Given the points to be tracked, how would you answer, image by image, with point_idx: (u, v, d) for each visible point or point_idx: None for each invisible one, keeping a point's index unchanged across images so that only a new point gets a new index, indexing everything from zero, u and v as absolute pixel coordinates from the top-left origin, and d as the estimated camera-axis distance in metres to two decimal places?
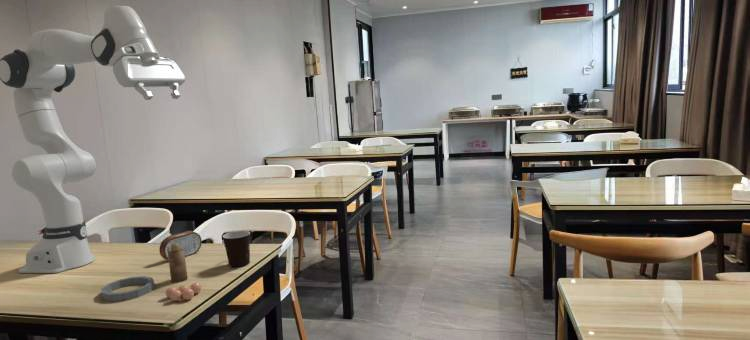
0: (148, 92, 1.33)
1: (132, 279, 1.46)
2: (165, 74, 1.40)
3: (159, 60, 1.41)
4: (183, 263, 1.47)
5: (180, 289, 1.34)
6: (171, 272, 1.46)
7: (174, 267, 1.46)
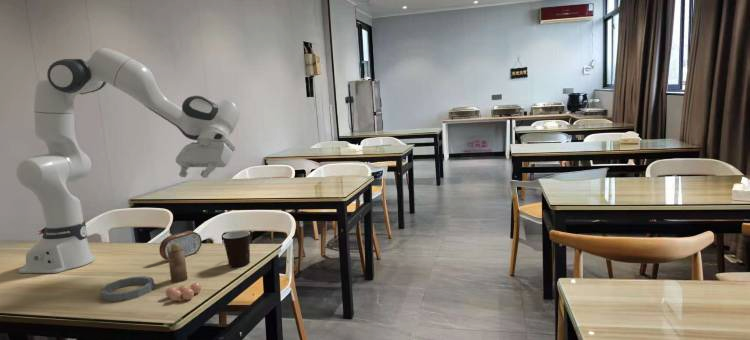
0: None
1: (132, 279, 1.46)
2: None
3: None
4: (183, 263, 1.47)
5: (180, 289, 1.34)
6: (171, 272, 1.46)
7: (174, 267, 1.46)
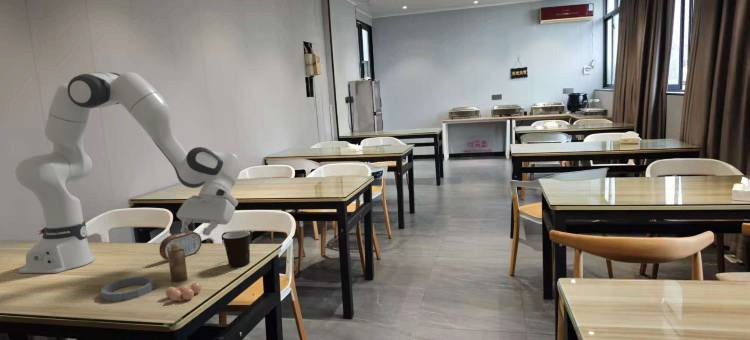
0: None
1: (132, 279, 1.46)
2: None
3: None
4: (183, 263, 1.47)
5: (180, 289, 1.34)
6: (171, 272, 1.46)
7: (174, 267, 1.46)
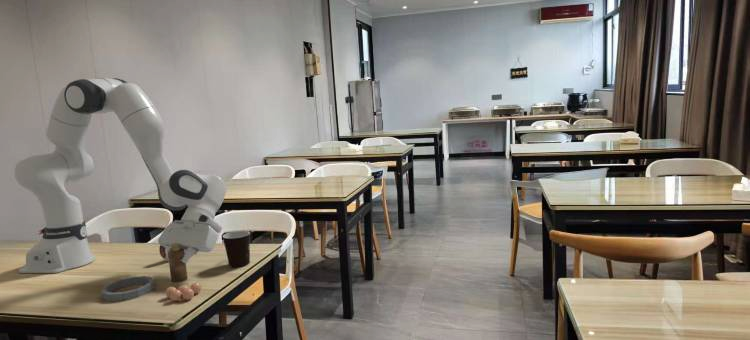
0: None
1: (132, 279, 1.46)
2: None
3: None
4: (183, 263, 1.47)
5: (180, 289, 1.34)
6: (171, 272, 1.46)
7: (174, 266, 1.46)
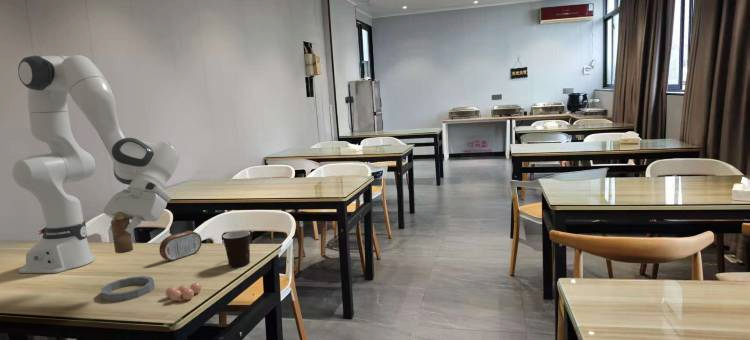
0: None
1: (132, 279, 1.46)
2: None
3: None
4: (128, 233, 1.38)
5: (180, 289, 1.34)
6: (114, 242, 1.38)
7: (118, 236, 1.37)
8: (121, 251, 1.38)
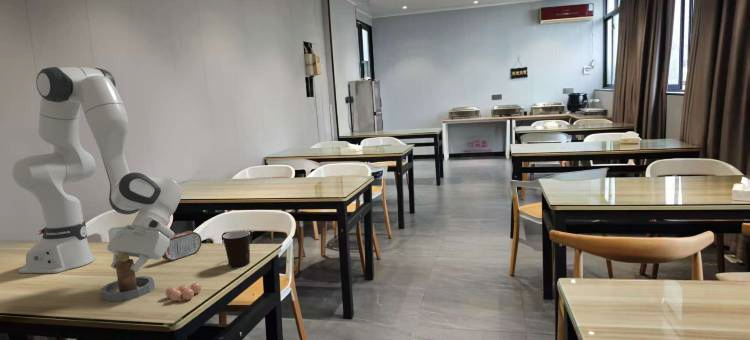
0: None
1: None
2: None
3: None
4: (132, 274, 1.40)
5: (180, 289, 1.34)
6: (119, 284, 1.39)
7: (122, 278, 1.38)
8: None
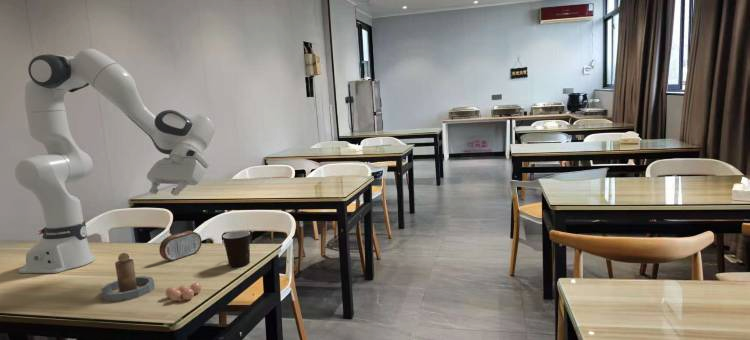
0: None
1: None
2: None
3: None
4: (132, 274, 1.40)
5: (180, 289, 1.34)
6: (119, 284, 1.39)
7: (122, 278, 1.38)
8: None
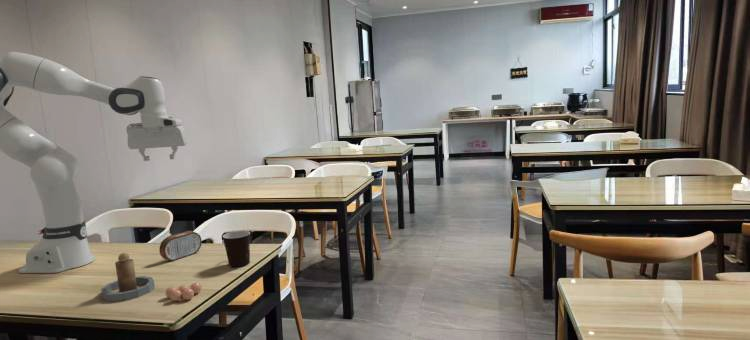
0: None
1: None
2: None
3: None
4: (132, 274, 1.40)
5: (180, 289, 1.34)
6: (119, 284, 1.39)
7: (122, 278, 1.38)
8: None
